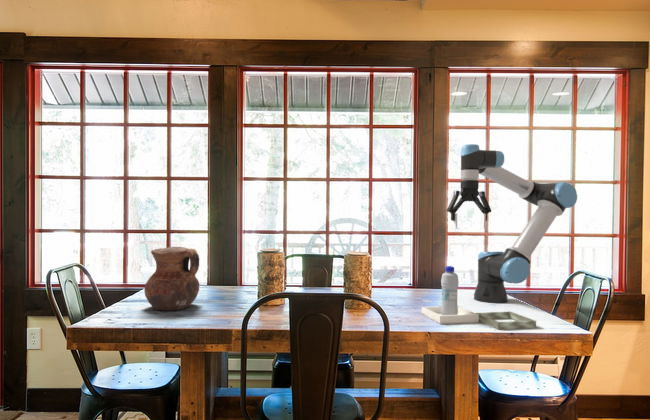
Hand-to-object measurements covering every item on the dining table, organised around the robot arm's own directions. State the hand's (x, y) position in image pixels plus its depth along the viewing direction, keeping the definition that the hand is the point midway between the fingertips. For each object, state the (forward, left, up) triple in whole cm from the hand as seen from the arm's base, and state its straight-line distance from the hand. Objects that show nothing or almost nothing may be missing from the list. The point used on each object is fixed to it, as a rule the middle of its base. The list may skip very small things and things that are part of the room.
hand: (468, 228), depth 200 cm
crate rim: (+1, +28, -35) cm, 45 cm away
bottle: (+18, +17, -34) cm, 42 cm away
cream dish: (+18, +17, -35) cm, 43 cm away
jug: (+126, -21, -35) cm, 132 cm away
